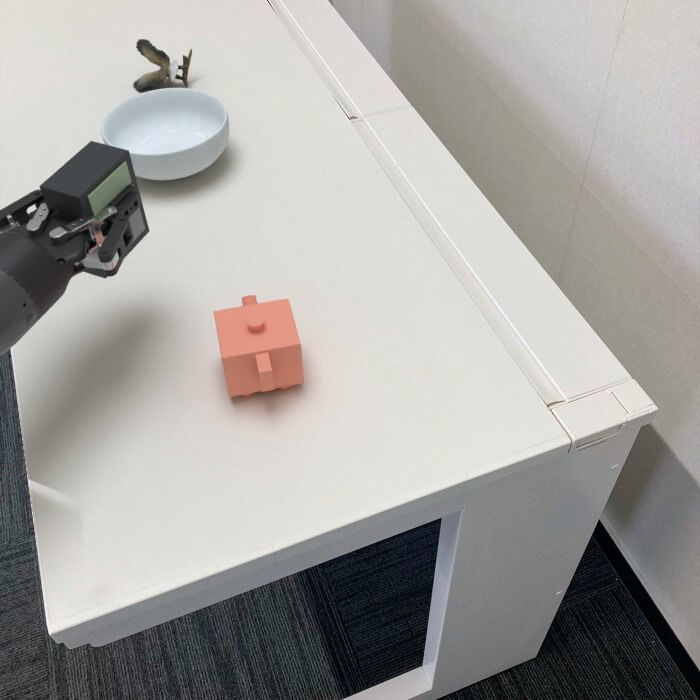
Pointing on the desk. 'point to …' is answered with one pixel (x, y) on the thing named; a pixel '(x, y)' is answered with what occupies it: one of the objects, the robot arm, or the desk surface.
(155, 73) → the eagle figurine
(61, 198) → the calculator
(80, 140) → the desk surface
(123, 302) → the desk surface
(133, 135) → the cereal bowl
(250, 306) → the pink cube teapot
